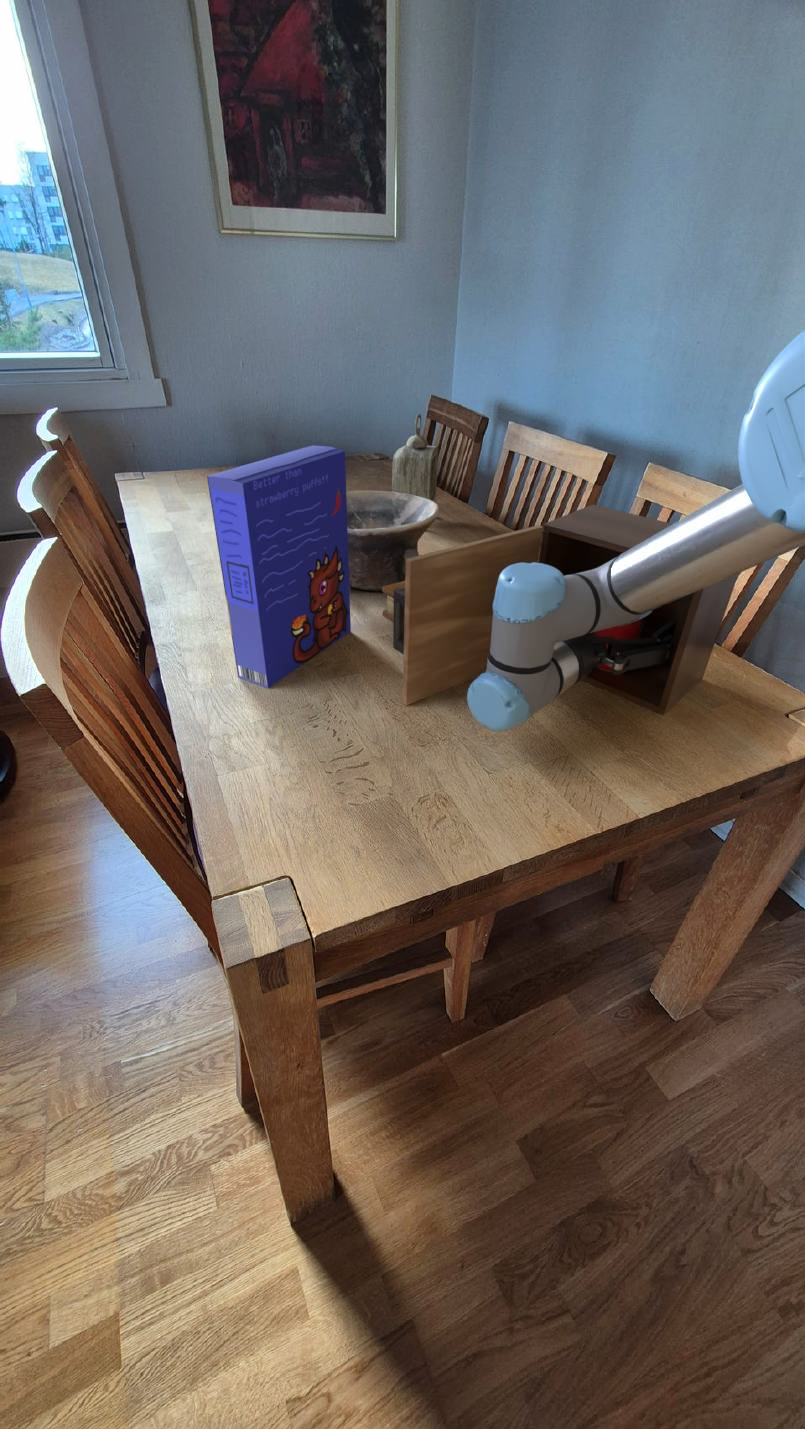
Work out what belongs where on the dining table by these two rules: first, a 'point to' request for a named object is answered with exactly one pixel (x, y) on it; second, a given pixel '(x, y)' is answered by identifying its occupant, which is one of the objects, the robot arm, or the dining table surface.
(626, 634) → the beverage can
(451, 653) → the cabinet door
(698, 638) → the cabinet
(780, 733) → the dining table surface
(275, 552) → the cereal box
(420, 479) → the grey bell
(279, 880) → the dining table surface
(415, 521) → the bowl
